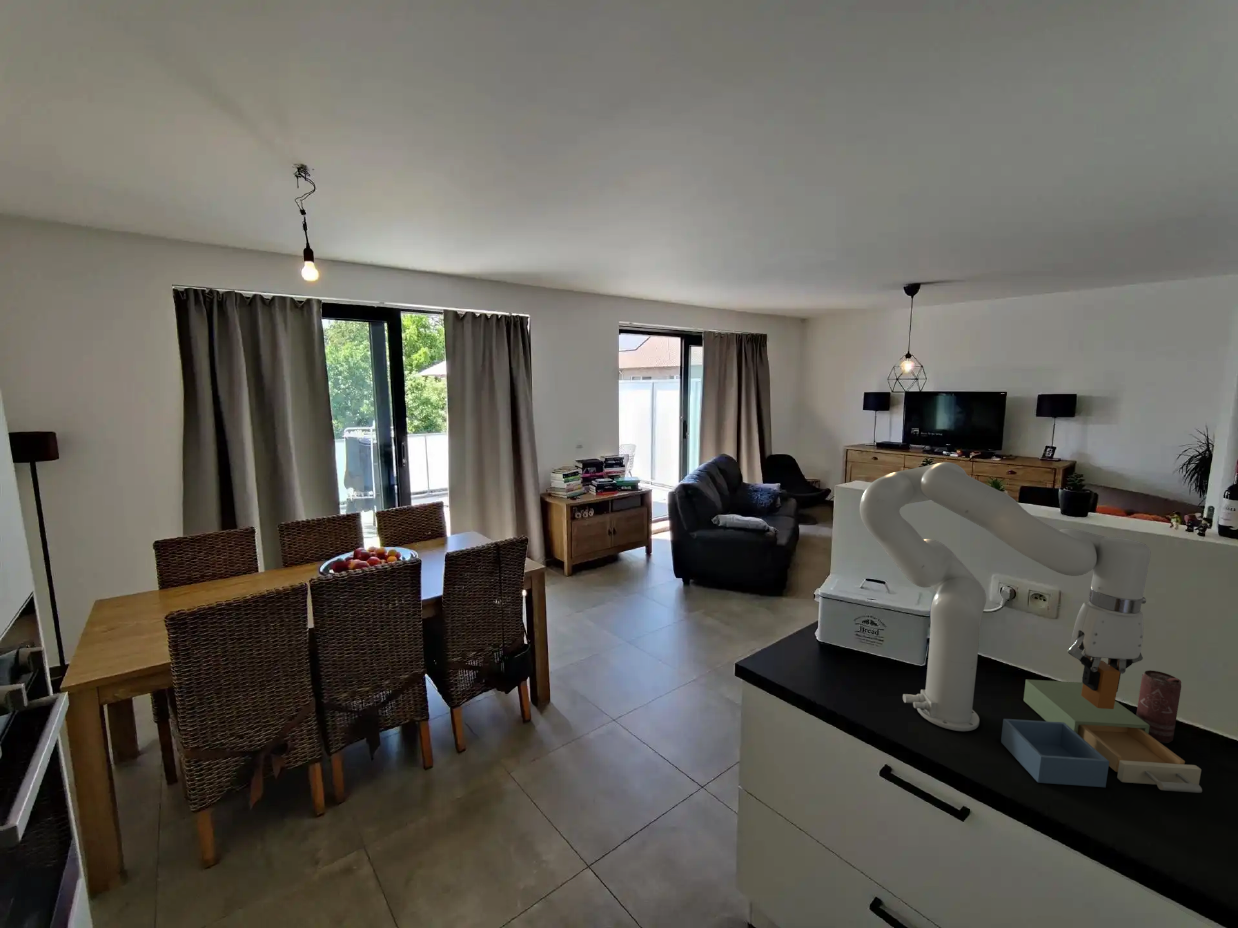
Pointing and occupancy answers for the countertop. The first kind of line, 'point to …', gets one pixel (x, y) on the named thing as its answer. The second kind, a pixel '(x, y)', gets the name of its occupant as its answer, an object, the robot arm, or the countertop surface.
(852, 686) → the countertop surface
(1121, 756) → the drawer
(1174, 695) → the can
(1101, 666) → the orange brown brick
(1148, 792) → the countertop surface
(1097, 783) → the bin
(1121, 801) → the countertop surface
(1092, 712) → the cabinet
